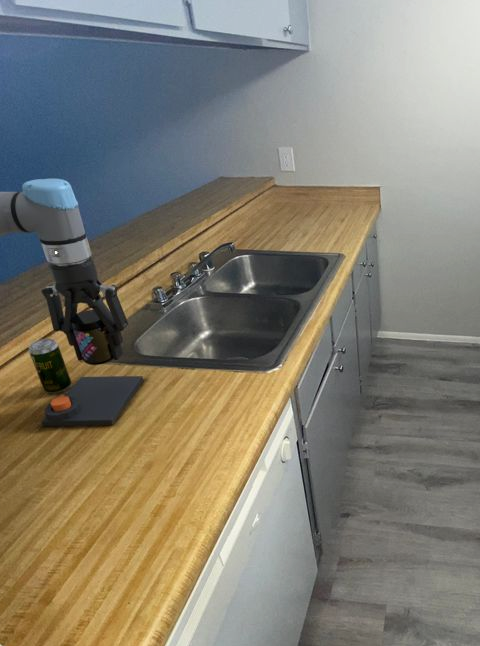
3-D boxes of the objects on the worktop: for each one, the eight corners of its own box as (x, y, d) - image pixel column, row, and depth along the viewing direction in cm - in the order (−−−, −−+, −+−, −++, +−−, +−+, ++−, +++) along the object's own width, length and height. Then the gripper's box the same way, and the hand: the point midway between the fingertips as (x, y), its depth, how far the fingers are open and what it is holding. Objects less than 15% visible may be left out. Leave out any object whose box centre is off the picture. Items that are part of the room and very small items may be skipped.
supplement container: (85, 353, 106) (71, 312, 101) (119, 347, 109) (107, 307, 104) (81, 369, 101) (67, 326, 96) (117, 362, 103) (105, 320, 98)
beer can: (51, 381, 112) (34, 338, 107) (76, 380, 113) (61, 337, 108) (40, 395, 108) (22, 351, 102) (66, 393, 109) (49, 349, 103)
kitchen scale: (42, 426, 99) (37, 415, 97) (82, 381, 113) (79, 371, 112) (112, 425, 100) (109, 414, 99) (143, 380, 114) (140, 370, 113)
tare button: (50, 412, 99) (47, 405, 98) (58, 402, 102) (56, 396, 101) (66, 411, 99) (63, 405, 98) (74, 402, 102) (71, 395, 101)
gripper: (5, 266, 90) (43, 367, 100) (113, 267, 91) (140, 365, 102) (29, 252, 96) (63, 348, 107) (130, 253, 98) (153, 347, 109)
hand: (100, 356), depth 105 cm, fingers closed on supplement container, 7 cm apart
